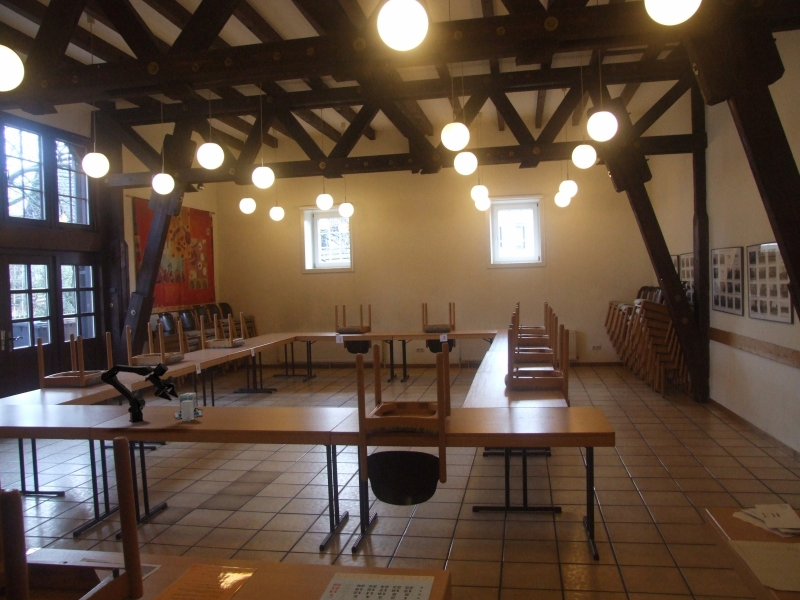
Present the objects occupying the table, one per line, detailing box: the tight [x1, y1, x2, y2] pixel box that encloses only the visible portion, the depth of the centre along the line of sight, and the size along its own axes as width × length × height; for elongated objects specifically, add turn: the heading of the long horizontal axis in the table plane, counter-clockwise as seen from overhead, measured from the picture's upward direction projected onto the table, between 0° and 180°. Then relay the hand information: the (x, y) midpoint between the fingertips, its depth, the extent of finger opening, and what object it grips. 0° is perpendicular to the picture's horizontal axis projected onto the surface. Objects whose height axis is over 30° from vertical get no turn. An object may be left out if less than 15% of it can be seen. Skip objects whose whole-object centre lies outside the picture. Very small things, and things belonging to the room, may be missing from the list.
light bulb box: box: [179, 392, 198, 411], centre depth 397 cm, size 11×7×11 cm, turn 168°
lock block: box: [181, 400, 195, 422], centre depth 363 cm, size 6×6×12 cm
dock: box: [174, 408, 203, 420], centre depth 377 cm, size 16×16×3 cm
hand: (174, 398), depth 364 cm, fingers open, 9 cm apart
